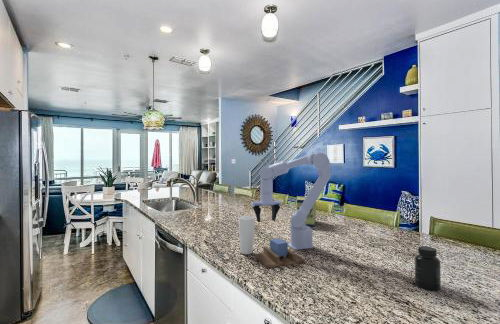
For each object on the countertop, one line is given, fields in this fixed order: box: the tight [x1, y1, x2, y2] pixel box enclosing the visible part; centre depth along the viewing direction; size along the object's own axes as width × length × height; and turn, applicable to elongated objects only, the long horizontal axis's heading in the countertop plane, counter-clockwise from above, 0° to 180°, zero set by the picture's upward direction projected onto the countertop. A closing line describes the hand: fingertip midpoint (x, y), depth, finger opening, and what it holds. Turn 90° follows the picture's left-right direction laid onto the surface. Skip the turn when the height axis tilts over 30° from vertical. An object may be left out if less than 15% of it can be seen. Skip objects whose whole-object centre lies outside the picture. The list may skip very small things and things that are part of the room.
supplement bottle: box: [414, 245, 442, 291], centre depth 85 cm, size 7×7×12 cm
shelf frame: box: [254, 246, 306, 269], centre depth 106 cm, size 16×12×4 cm
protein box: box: [296, 195, 317, 228], centre depth 164 cm, size 10×16×16 cm
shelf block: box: [269, 237, 289, 257], centre depth 106 cm, size 6×4×5 cm
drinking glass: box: [238, 215, 256, 255], centre depth 113 cm, size 7×7×15 cm
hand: (266, 221), depth 126 cm, fingers open, 7 cm apart
